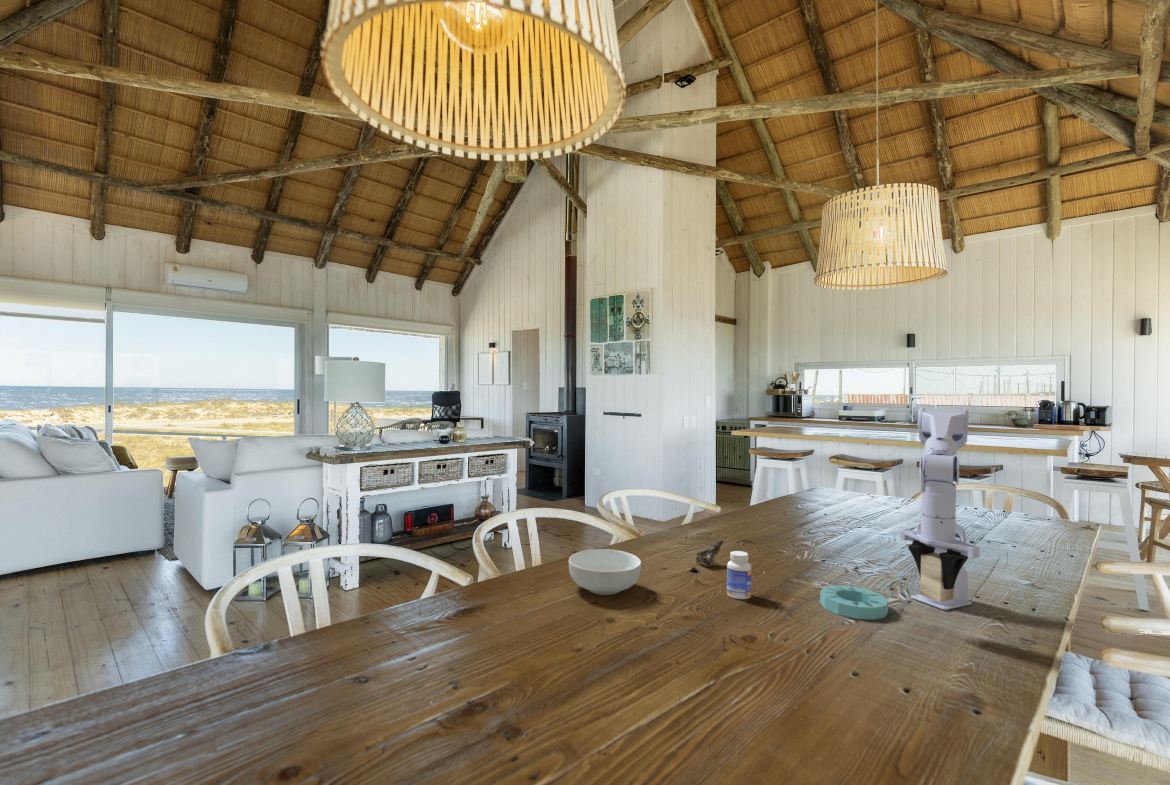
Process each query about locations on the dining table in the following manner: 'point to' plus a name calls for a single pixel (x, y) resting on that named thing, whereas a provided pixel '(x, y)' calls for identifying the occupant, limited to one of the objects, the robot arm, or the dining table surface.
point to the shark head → (709, 555)
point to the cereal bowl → (604, 570)
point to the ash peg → (933, 579)
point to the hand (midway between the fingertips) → (936, 584)
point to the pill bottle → (739, 576)
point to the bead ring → (854, 602)
